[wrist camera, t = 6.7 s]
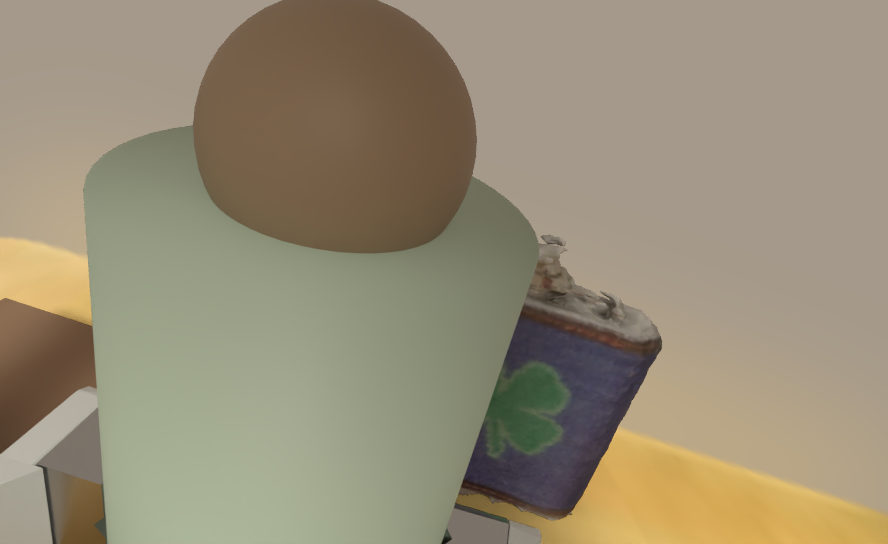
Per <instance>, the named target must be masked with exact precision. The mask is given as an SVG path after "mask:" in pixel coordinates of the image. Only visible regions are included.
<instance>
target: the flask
mask: <svg viewBox="0 0 888 544" xmlns="http://www.w3.org/2000/svg"><path fill="white" fill-rule="evenodd" d="M541 238H542V239H543V240H544V241H545V242H546V243H547V244H539V258H538V262H537V266H536V269H535V272H534V275H533V278H532V281H531V284H530V287H529V289H528V292H527V295H526V298H525V301H524V304H523V307H522V310H521V313H520V316H519V319H518V321H517V324H516V327H515V330H514V333H513V336H512V339H511V342H510V345H509V348H508V351H507V354H506V356H505V359H504V362H503V365H502V368H501V371H500V374H499V377H498V380H497V383H496V386H495V389H494V391H493V394H492V397H491V400H490V403H489V406H488V409H487V412H486V415H485V418H484V421H483V423H482V426H481V429H480V432H479V435H478V438H477V441H476V444H475V447H474V450H473V453H472V456H471V458H470V461H469V464H468V467H467V470H466V473H465V476H464V479H463V482H462V485H461V488H460V491H459V493H458V494H460V495H466V494H467V495H468V494H472V495H473V494H478V493H480V494H483V495H485V496H488V497H489V498H490V500H491V502H492V503H494V502H497V503H499V502H507V503H510V504H513V505H514V506H516V507H517V508H519V509H520V511H521V512H522V511H526V512H527V511H529V512H533V513H535V514H537V515H540V516H543V517H545V518H548V519H549V520H557V519H561V518H563V517H566V516H567V515H572V514H571V511H572V510H573V509H574V507H575V505H576V504H577V502H578V501H579V499H580V498H581V497H582V495H583V493H584V491H585V489H586V487H587V485H588V483H589V481H590V480H591V478H592V476H593V474H594V472H595V470H596V468H597V466H598V464H599V462H600V460H601V458H602V457H603V455H604V454H605V452H606V451H607V449H608V447H609V444H610V442H611V441H612V438H613V436H614V434H615V432H616V430H617V427H618V425H619V424H620V422H621V420H622V419H623V417H624V416H625V414H626V412H627V410H628V409H629V406H630V404H631V401H632V400H633V399H634V397H635V395H636V393H637V392H638V390H639V388H640V386H641V384H642V383H643V381H644V379H645V376H646V374H647V371H648V369H649V367H650V366H651V365H652V363H653V362H654V361H655V359H656V357H657V355H658V353H659V352H660V351H661V349H662V340H661V336H660V334H659V332H658V330H657V327H656V326H655V325H654V324H653V323H652V321H651V320H650V318H649V317H648V316H647V315H646V314H645V313H644V312H642V311H641V310H639V309H635V308H632V307H629V306H627V305H624V304H623V303H622V302H621V299H620V297H618V296H615V295H613V294H609V293H605V292H602V291H601V293H602V294H603V295H605V296H607V297H608V298H609V299H610V300H608V299H605V298H604V297H600V296H598V295H597V294H595V293H594V292H593V291H591V290H588V289H585V288H583V287H581V286H577V285H576V284H575V282H574V279H573V278H572V277H571V276H570V275H569V274H568V272H567V270H566V268H564V267H561V266H560V262H559V258H560V254H561V253H562V252H563V251H567V249H565V248H563V247H559V246H553V245H548V244H557V245H560V246H565V244H566V241H565V240H563V239H561V238H559V237H554V236H551V235H543V236H541Z"/></svg>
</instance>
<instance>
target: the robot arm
mask: <svg viewBox="0 0 888 544" xmlns="http://www.w3.org/2000/svg"><path fill="white" fill-rule="evenodd" d="M0 544H107V530H106V516H105V501H104V486H103V472H102V457H101V442H100V428H99V413H98V398H97V389H96V388H93V387H90V386H88V387H85V388H82V389H79V390H77V391H76V392H75V393H73V394H72V395H71V396H70V397H69V398H67V399H66V400H65V401H64V402H63V403H61V404H60V405H59V406H58V407H57V408H55V409H54V410H53V411H52V412H51V413H49V414H48V415H47V416H46V417H45V418H43V419H42V420H41V421H40V422H39V423H37V424H36V425H35V426H34V427H33V428H31V429H30V430H29V431H28V432H27V433H25V434H24V435H23V436H22V437H21V438H19V439H18V440H17V441H16V442H15V443H13V444H12V445H11V446H10V447H9V448H7V449H6V450H5V451H4V452H2V453H1V454H0ZM441 544H541V533H540V530H539V529H537V528H533V527H530V526H527V525H524V524H521V523H517V522H514V521H511V520H507V519H506V518H503V517H499V516H496V515H493V514H489V513H486V512H483V511H480V510H476V509H473V508H470V507H466V506H463V505H460V504H457V503H455V505H454V508H453V511H452V514H451V517H450V520H449V523H448V526H447V528H446V531H445V534H444V537H443V540H442V543H441Z"/></svg>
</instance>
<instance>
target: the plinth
mask: <svg viewBox="0 0 888 544" xmlns="http://www.w3.org/2000/svg"><path fill="white" fill-rule="evenodd" d="M88 386H90V387H93V388H96V389H97V384H96V369H95V354H94V340H93V326H90V325H87V324H83V323H80V322H77V321H74V320H71V319H68V318H65V317H62V316H59V315H56V314H53V313H50V312H47V311H44V310H41V309H38V308H35V307H31V306H28V305H25V304H22V303H19V302H16V301H13V300H10V299H7V298H4V299H2V300H1V301H0V454H1V453H2V452H4V451H5V450H6V449H7V448H9V447H10V446H11V445H12V444H13V443H15V442H16V441H17V440H18V439H19V438H21V437H22V436H23V435H24V434H25V433H27V432H28V431H29V430H30V429H31V428H33V427H34V426H35V425H36V424H37V423H39V422H40V421H41V420H42V419H43V418H45V417H46V416H47V415H48V414H49V413H51V412H52V411H53V410H54V409H55V408H57V407H58V406H59V405H60V404H61V403H63V402H64V401H65V400H66V399H67V398H69V397H70V396H71V395H72V394H73V393H75V392H76V391H77V390H79V389H82V388H85V387H88Z"/></svg>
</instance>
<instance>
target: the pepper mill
mask: <svg viewBox="0 0 888 544" xmlns="http://www.w3.org/2000/svg"><path fill="white" fill-rule="evenodd" d="M476 143H477V136H476V125H475V118H474V113H473V108H472V103H471V99H470V96H469V93H468V90H467V88H466V85H465V82H464V80H463V78H462V76H461V74H460V72H459V71H458V69H457V66H456V65H455V63H454V62H453V60H452V59H451V57H450V56H449V55H448V53H447V52H446V50H445V49H444V48H443V46H442V45H441V44H440V43H439V42H438V41H437V40H436V39H435V38H434V36H433V35H432V34H431V33H430V32H428V31H427V30H426V29H425V28H424V27H422V26H421V25H420V24H419V23H418V22H417V21H415V20H414V19H412V18H410V17H409V16H408V15H406V14H404V13H403V12H401V11H400V10H398V9H396V8H394V7H391V6H389V5H387V4H385V3H382V2H380V1H378V0H282V1H280V2H278V3H275V4H273V5H271V6H268V7H266V8H264V9H263V10H261V11H259V12H258V13H256V14H255V15H253V16H252V17H250V18H248V19H247V20H246V21H245V22H244V23H243V24H242V25H240V26H239V27H238V28H237V29H236V30H235V31H234V32H232V33H231V35H230V36H229V37H228V38H227V39H226V41H225V42H224V43H223V44H222V45H221V46H220V48H219V49H218V51H217V52H216V54H215V55H214V57H213V59H212V60H211V62H210V64H209V66H208V68H207V70H206V73H205V75H204V77H203V80H202V82H201V85H200V89H199V93H198V97H197V101H196V105H195V111H194V122H193V126H186V127H179V128H173V129H168V130H163V131H159V132H154V133H151V134H148V135H144V136H141V137H138V138H135V139H133V140H130V141H128V142H126V143H123V144H121V145H119V146H117V147H116V148H114V149H112V150H111V151H109V152H108V153H106V154H105V155H103V156H102V157H101V158H100V159H99V160H98V161H97V162H96V163H95V164H94V165H93V166H92V168H91V170H90V171H89V173H88V174H87V176H86V180H85V184H84V189H83V193H84V206H85V207H84V208H85V222H86V235H87V252H88V266H89V281H90V296H91V310H92V325H93V340H94V354H95V369H96V384H97V398H98V413H99V428H100V442H101V457H102V472H103V486H104V501H105V516H106V530H107V544H441V543H442V540H443V537H444V534H445V531H446V528H447V526H448V523H449V520H450V517H451V514H452V511H453V508H454V505H455V502H456V499H457V496H458V493H459V491H460V488H461V485H462V482H463V479H464V476H465V473H466V470H467V467H468V464H469V461H470V458H471V456H472V453H473V450H474V447H475V444H476V441H477V438H478V435H479V432H480V429H481V426H482V423H483V421H484V418H485V415H486V412H487V409H488V406H489V403H490V400H491V397H492V394H493V391H494V389H495V386H496V383H497V380H498V377H499V374H500V371H501V368H502V365H503V362H504V359H505V356H506V354H507V351H508V348H509V345H510V342H511V339H512V336H513V333H514V330H515V327H516V324H517V321H518V319H519V316H520V313H521V310H522V307H523V304H524V301H525V298H526V295H527V292H528V289H529V287H530V284H531V281H532V278H533V275H534V272H535V269H536V266H537V262H538V258H539V243H538V240H537V237H536V235H535V232H534V230H533V228H532V227H531V225H530V223H529V221H528V220H527V219H526V218H525V217H524V215H523V214H522V213H521V212H520V211H519V210H518V209H517V208H516V207H515V206H514V205H513V204H512V203H511V202H510V201H509V200H507V199H506V198H505V197H504V196H502V195H501V194H500V193H498V192H497V191H496V190H494V189H493V188H491V187H489V186H488V185H486V184H485V183H483V182H481V181H480V180H478V179H476V178H474V177H472V174H473V169H474V164H475V158H476Z"/></svg>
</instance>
